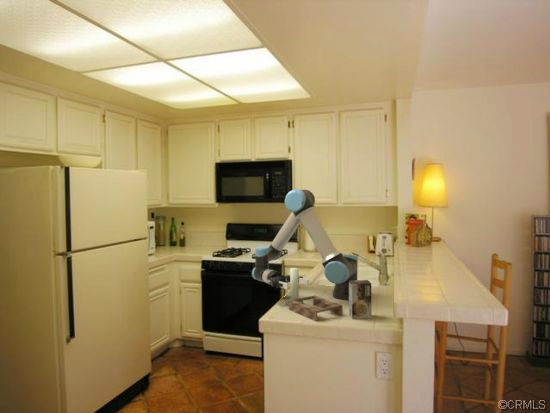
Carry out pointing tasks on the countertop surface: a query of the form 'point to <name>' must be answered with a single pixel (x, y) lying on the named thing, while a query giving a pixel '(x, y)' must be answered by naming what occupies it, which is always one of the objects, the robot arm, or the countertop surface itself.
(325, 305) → the brown square frame
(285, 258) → the countertop surface
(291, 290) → the cream rod gray base
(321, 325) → the countertop surface
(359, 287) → the coffee box
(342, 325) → the countertop surface
